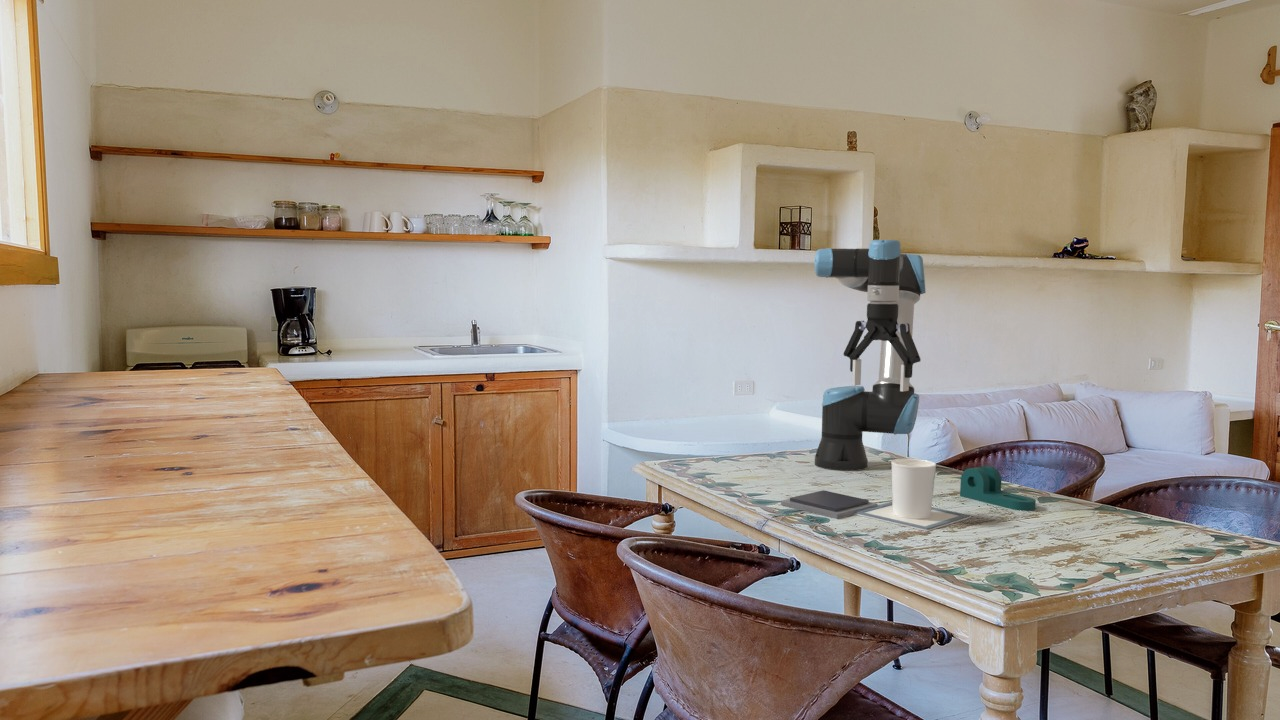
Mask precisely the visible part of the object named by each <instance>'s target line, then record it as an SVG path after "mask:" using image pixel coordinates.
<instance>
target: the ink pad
mask: <svg viewBox="0 0 1280 720" xmlns="http://www.w3.org/2000/svg"><path fill="white" fill-rule="evenodd" d="M780 506H783V507H787V508H792V509H796V510H799V511H804V512H809V513H812V514H817V515H820V516H824V517H829V518H832V519H841V518H844V517H849V516H852V515H855V514H854V513H855V512H856V511H860V510H864V509H868V508H871V507H875V506H878V503H877V502H872V501H870V500H869V499H865V498H859V497H856V496H853V495H852V496H851V495H847V494H842V493H838V492H833V491H829V490H819V491H815V492H811V493H809V492H808V493H805V494H800V495H797V496H796V495H795V496H793V497H792V496H791V497H790V498H788V499H783V500H780Z"/></svg>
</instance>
